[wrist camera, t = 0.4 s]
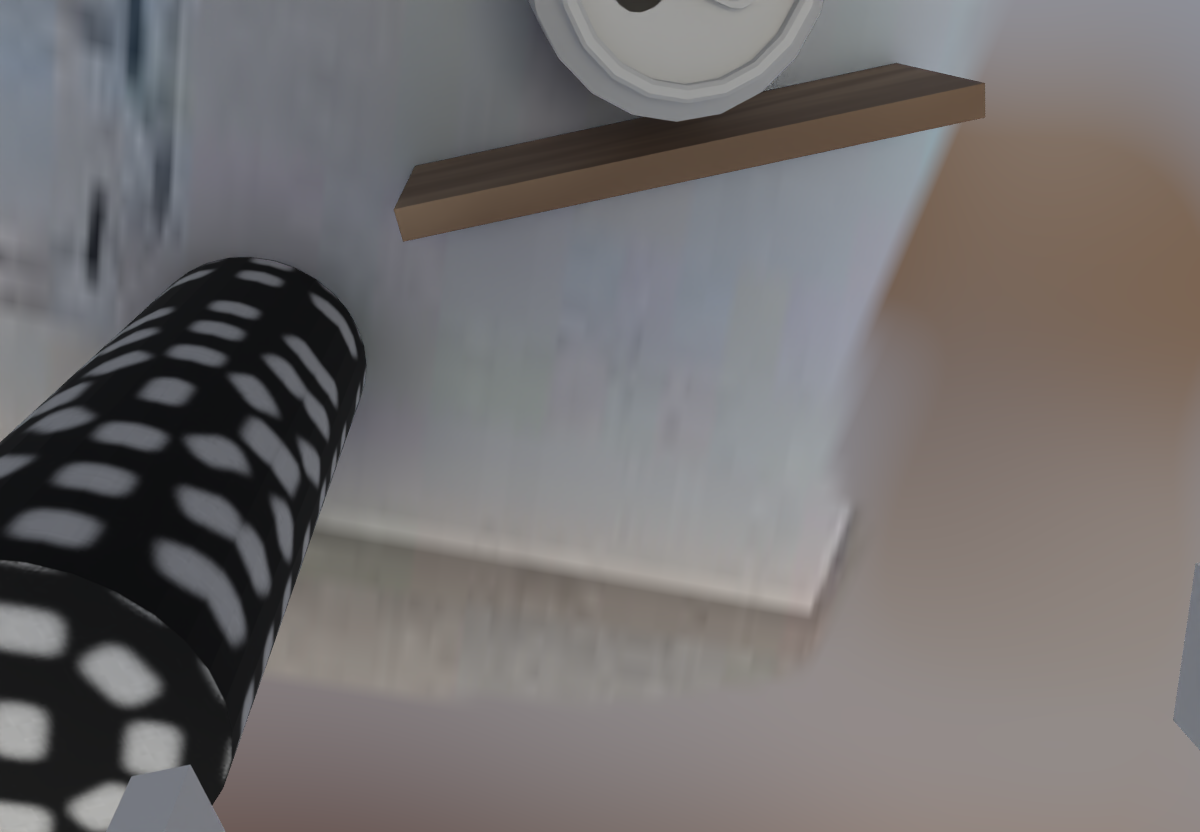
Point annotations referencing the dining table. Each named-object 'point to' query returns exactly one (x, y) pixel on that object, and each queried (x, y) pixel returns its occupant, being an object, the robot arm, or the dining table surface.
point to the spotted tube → (163, 536)
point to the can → (676, 49)
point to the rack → (681, 147)
